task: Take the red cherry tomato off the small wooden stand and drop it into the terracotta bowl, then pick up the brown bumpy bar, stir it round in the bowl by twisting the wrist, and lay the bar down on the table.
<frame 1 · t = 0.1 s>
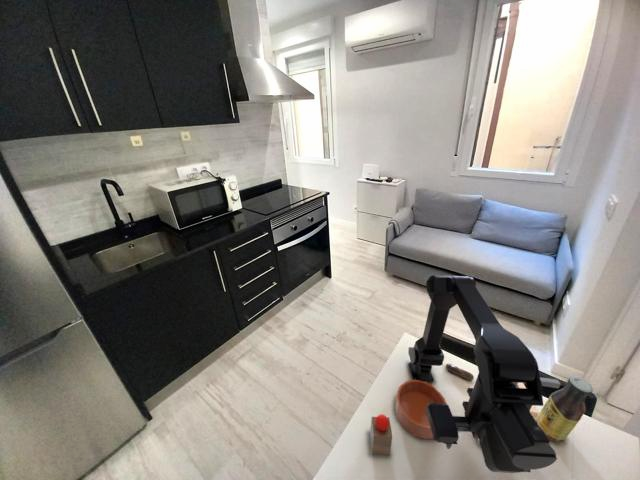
hand: (470, 447, 53), 15 cm above the table, tool pointing down, fingers open, 9 cm apart
soap dispenser: (500, 432, 68), on the table
bowl: (419, 412, 73), on the table
wooden stand: (379, 444, 66), on the table
brown bumpy bar: (458, 374, 84), on the table
tomato: (382, 422, 62), point 10 cm above the table, touching wooden stand
sauce bottle: (548, 431, 68), on the table
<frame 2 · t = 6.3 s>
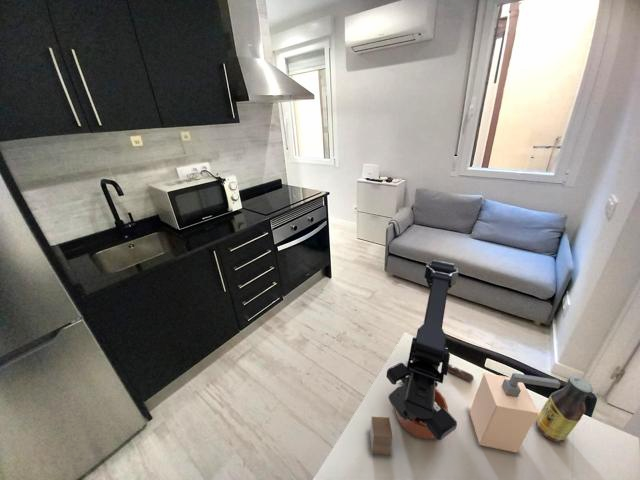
hand: (413, 416, 70), 3 cm above the table, tool pointing down, fingers closed on tomato, 3 cm apart
brown bumpy bar: (458, 374, 84), on the table, tilted 15°
tomato: (414, 414, 70), point 4 cm above the table, touching gripper
everything else where it was.
when the fingers open (1 cm above the table, at t = 35.5 s): tomato stays where it is and tips over, resting on bowl.
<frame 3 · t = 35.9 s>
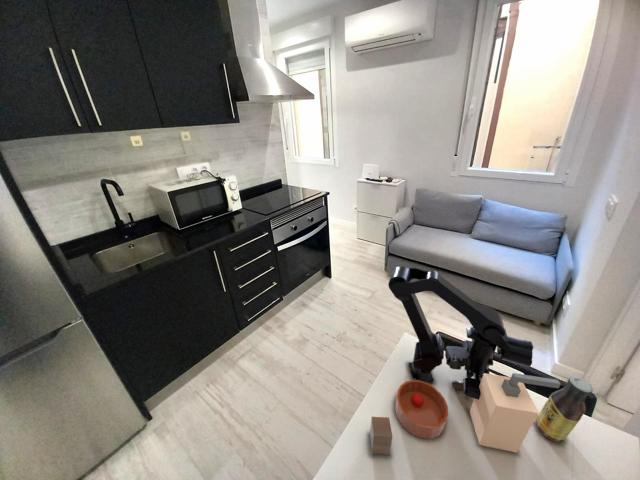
hand: (468, 386, 79), 1 cm above the table, tool pointing down, fingers open, 6 cm apart
soap dispenser: (500, 432, 68), on the table, touching gripper
brown bumpy bar: (465, 383, 80), point 1 cm above the table, tilted 75°
tomato: (417, 399, 75), point 2 cm above the table, tilted 41°, touching bowl
everything else where it was.
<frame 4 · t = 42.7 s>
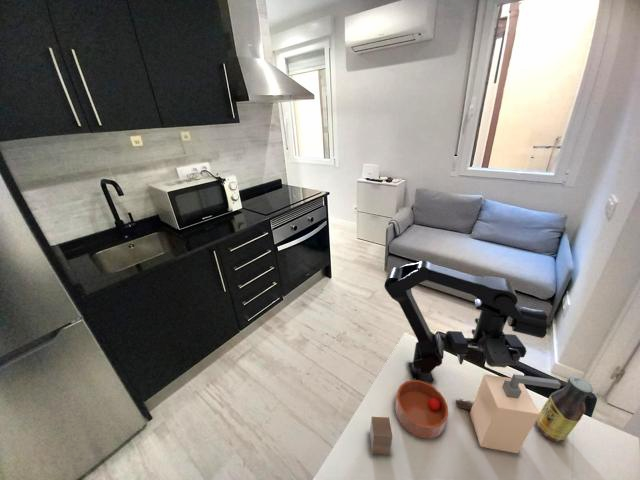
hand: (476, 364, 75), 11 cm above the table, tool pointing down, fingers open, 9 cm apart
soap dispenser: (500, 433, 68), on the table
brown bumpy bar: (470, 406, 74), on the table, tilted 26°
tomato: (434, 404, 73), point 2 cm above the table, tilted 135°, touching bowl
everything else where it was.
at the end: tomato inside the target area in the bowl (4.4 cm from its centre), point 2.2 cm above the bowl's base; brown bumpy bar inside the target area (6.2 cm from its centre), on the table; the gripper is holding nothing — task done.
